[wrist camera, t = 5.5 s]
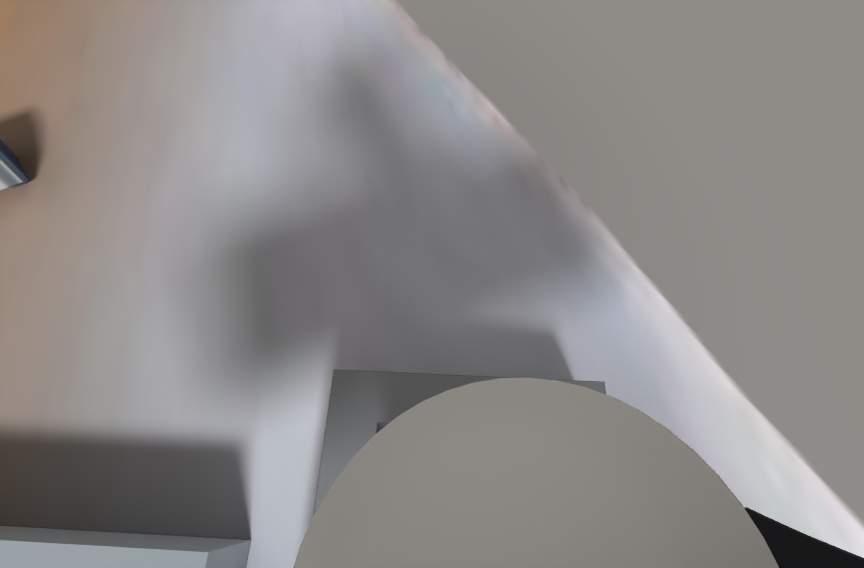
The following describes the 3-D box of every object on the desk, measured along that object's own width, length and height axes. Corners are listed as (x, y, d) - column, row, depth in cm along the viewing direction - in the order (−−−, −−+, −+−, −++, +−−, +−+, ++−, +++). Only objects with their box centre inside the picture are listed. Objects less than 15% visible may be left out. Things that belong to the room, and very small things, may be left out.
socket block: (606, 697, 15) (643, 743, 12) (312, 677, 16) (285, 718, 13) (580, 396, 19) (604, 381, 17) (348, 385, 20) (333, 369, 17)
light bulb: (536, 613, 14) (916, 1103, 3) (392, 604, 14) (216, 1035, 3) (530, 458, 16) (746, 386, 5) (403, 452, 16) (318, 368, 5)
